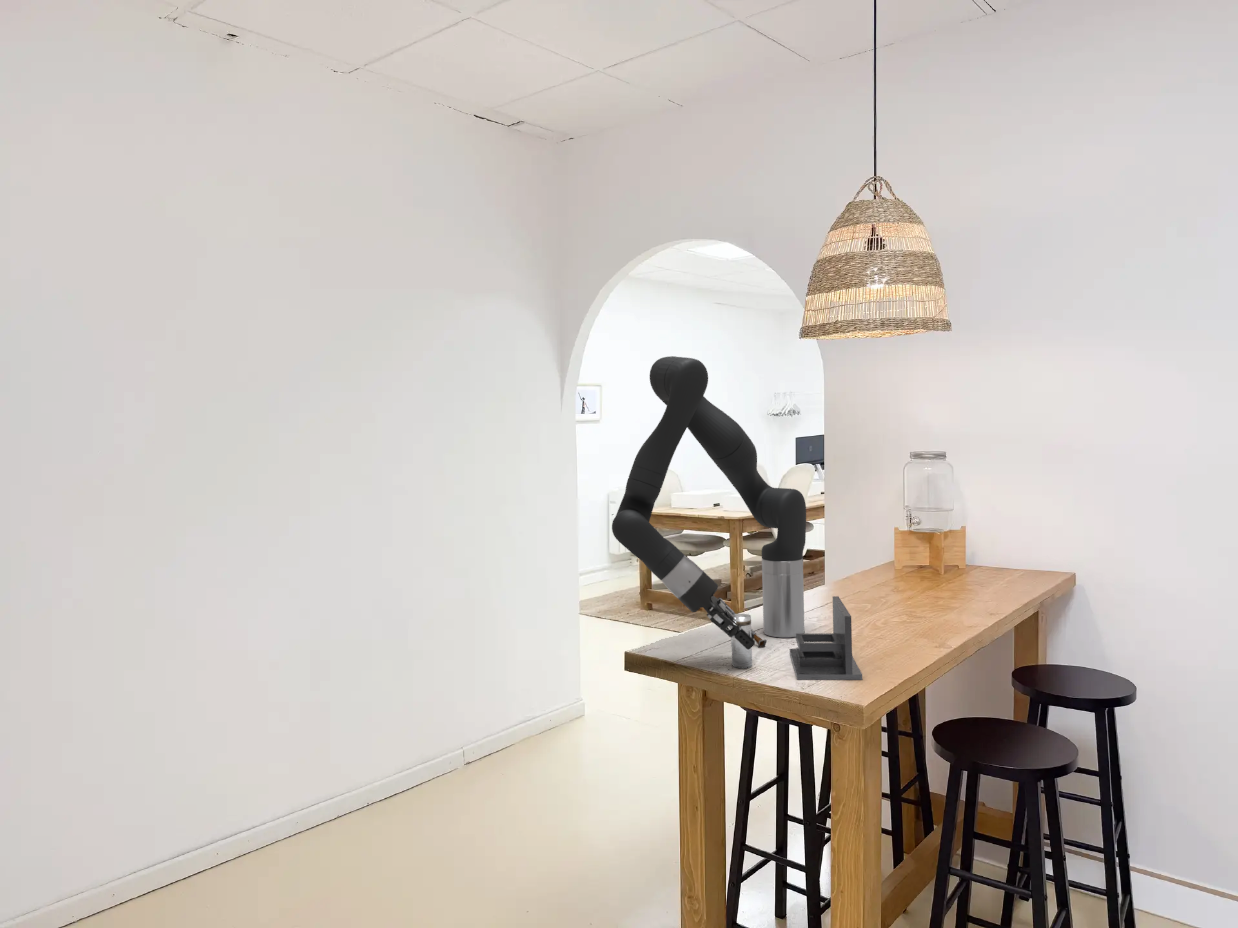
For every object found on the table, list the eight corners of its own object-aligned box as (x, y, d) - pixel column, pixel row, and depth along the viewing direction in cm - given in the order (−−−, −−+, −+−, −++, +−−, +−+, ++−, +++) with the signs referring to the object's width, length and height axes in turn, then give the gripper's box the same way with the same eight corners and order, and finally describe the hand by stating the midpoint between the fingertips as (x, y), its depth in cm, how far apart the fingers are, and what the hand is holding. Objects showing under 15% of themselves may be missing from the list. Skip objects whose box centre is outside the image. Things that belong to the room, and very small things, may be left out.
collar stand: (789, 653, 179) (788, 596, 179) (848, 653, 178) (847, 596, 177) (797, 679, 161) (795, 616, 161) (862, 679, 160) (861, 616, 159)
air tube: (731, 662, 174) (730, 613, 173) (752, 662, 173) (750, 613, 173) (732, 668, 170) (730, 618, 169) (752, 668, 169) (751, 618, 169)
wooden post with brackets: (741, 634, 193) (745, 618, 191) (762, 656, 187) (767, 639, 185) (734, 636, 192) (739, 619, 190) (755, 657, 186) (760, 640, 184)
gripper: (701, 576, 164) (766, 639, 164) (702, 564, 178) (763, 621, 178) (674, 604, 165) (739, 666, 164) (678, 589, 179) (738, 646, 179)
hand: (751, 642), depth 171 cm, fingers closed on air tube, 4 cm apart
